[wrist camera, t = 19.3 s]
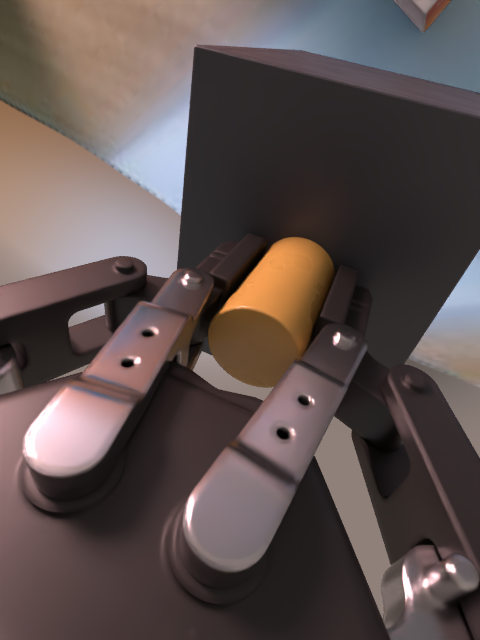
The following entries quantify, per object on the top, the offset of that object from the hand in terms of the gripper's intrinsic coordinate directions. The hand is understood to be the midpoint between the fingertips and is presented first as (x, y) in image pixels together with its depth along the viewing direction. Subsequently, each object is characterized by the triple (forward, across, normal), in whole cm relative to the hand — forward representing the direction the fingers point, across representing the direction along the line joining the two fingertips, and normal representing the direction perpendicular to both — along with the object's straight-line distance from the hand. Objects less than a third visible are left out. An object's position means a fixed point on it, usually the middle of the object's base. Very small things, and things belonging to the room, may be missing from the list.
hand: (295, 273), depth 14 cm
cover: (+13, 0, 0) cm, 13 cm away
